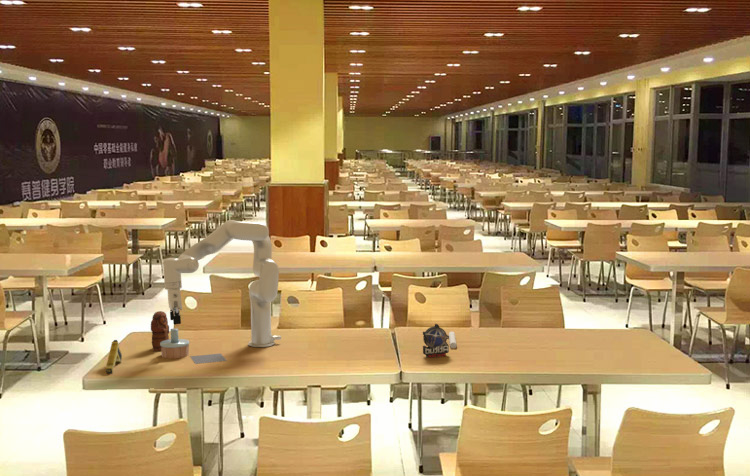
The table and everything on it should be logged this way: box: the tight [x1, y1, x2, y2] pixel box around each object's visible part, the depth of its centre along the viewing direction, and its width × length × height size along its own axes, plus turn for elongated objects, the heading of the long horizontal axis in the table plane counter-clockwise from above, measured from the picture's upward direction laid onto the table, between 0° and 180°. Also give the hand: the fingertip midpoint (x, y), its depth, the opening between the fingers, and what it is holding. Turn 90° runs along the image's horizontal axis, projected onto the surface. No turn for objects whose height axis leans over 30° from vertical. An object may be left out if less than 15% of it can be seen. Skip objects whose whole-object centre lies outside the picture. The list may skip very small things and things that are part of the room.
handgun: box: [105, 339, 123, 374], centre depth 361 cm, size 2×19×12 cm
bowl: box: [160, 344, 190, 360], centre depth 381 cm, size 12×12×6 cm
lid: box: [160, 327, 190, 348], centre depth 380 cm, size 13×13×7 cm
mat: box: [189, 353, 228, 365], centre depth 375 cm, size 14×14×1 cm
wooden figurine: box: [150, 310, 170, 352], centre depth 394 cm, size 12×6×18 cm, turn 175°
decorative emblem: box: [422, 323, 450, 359], centre depth 377 cm, size 12×2×15 cm, turn 108°
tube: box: [448, 331, 457, 349], centre depth 405 cm, size 3×3×25 cm
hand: (175, 321), depth 380 cm, fingers open, 9 cm apart
